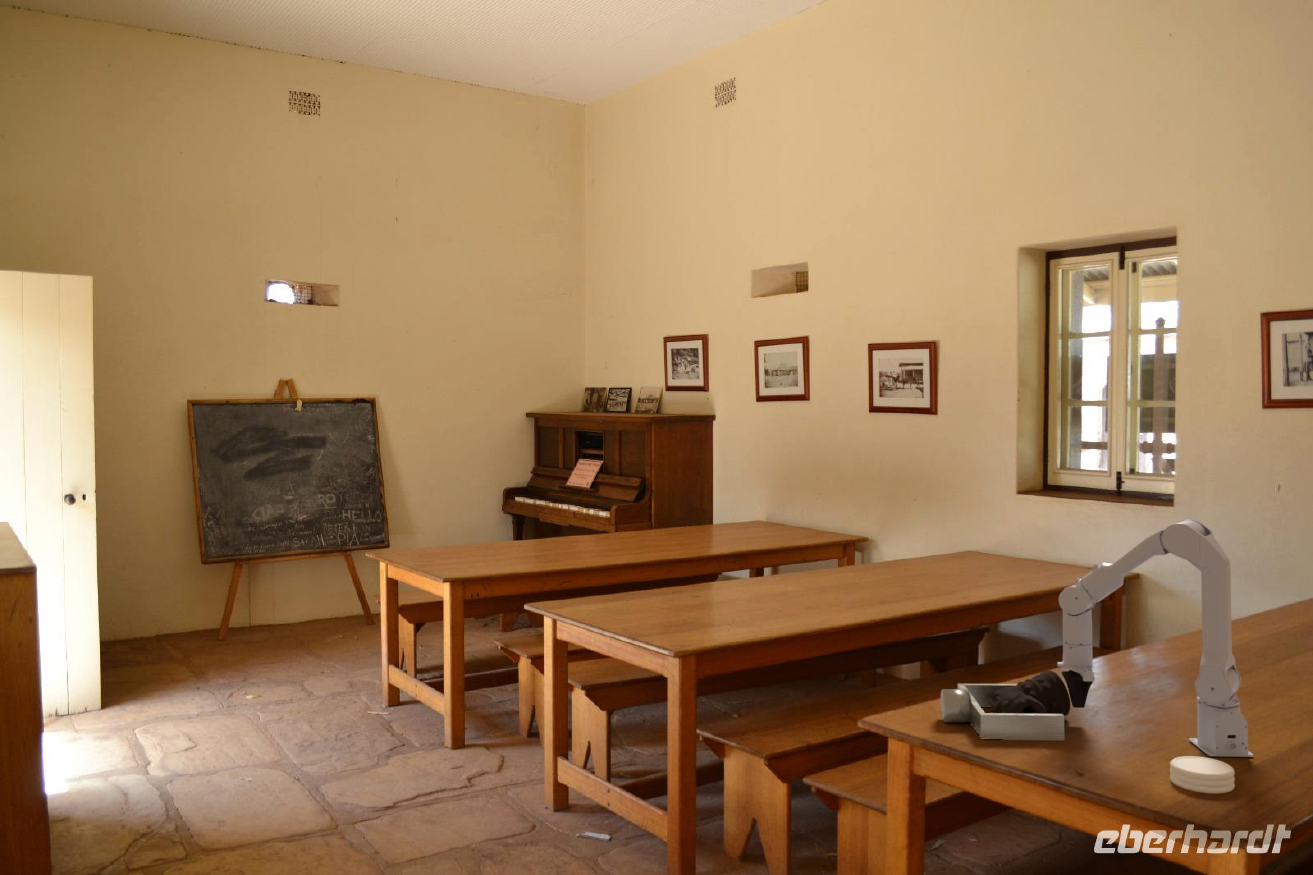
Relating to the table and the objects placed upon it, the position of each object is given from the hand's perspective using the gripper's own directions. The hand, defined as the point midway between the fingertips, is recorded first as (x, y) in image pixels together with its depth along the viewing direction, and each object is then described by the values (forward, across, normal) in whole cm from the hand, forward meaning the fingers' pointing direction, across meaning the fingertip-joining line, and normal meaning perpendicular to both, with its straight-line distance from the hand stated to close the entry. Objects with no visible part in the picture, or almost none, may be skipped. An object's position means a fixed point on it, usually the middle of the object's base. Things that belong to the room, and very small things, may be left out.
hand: (1078, 706), depth 212 cm
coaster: (+4, +34, +11) cm, 36 cm away
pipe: (+4, -2, -9) cm, 10 cm away
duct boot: (+3, 0, -17) cm, 17 cm away
